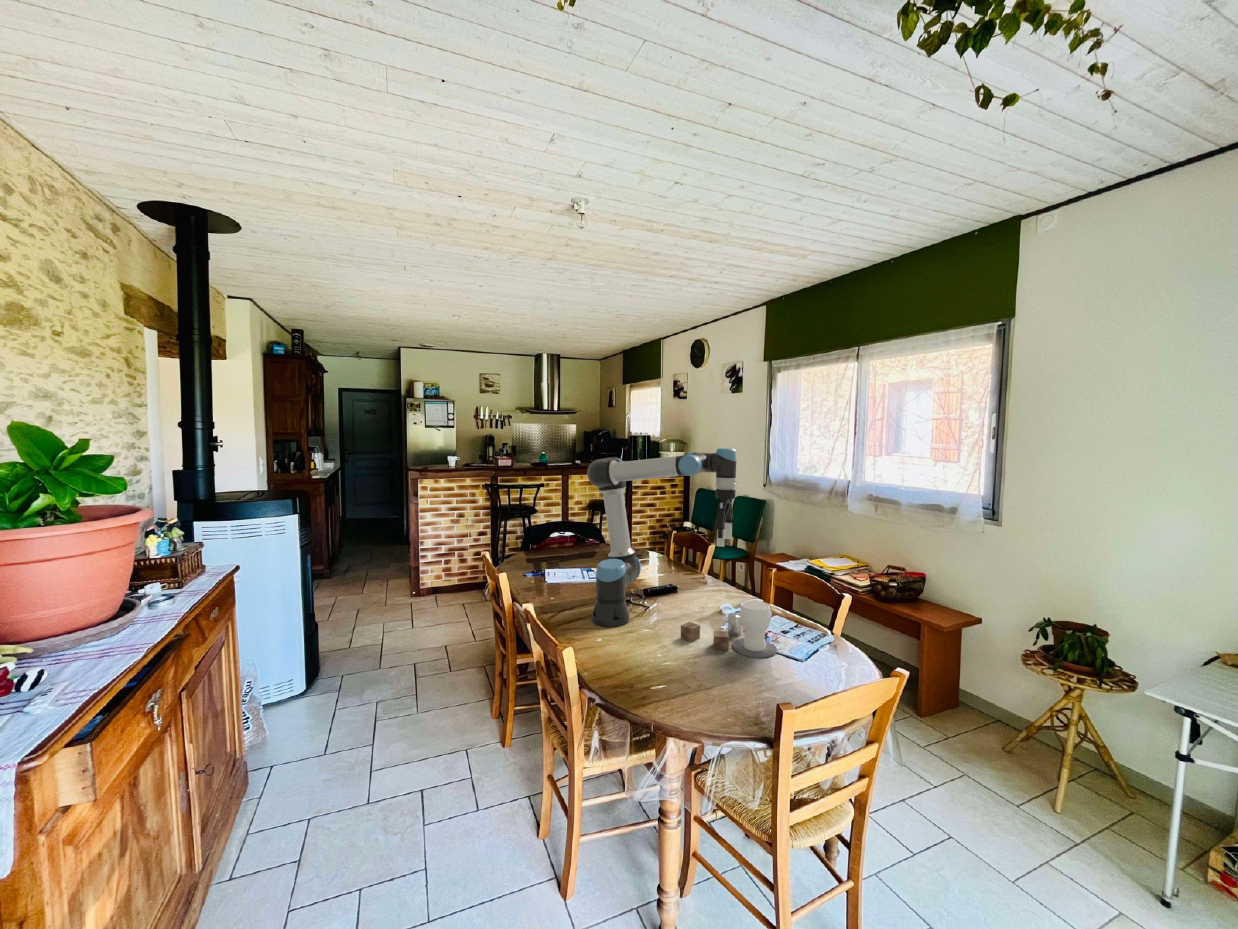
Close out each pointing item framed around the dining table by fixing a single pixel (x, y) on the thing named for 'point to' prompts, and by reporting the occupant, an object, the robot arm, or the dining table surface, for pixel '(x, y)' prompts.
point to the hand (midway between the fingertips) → (724, 542)
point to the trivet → (766, 653)
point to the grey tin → (734, 624)
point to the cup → (755, 624)
